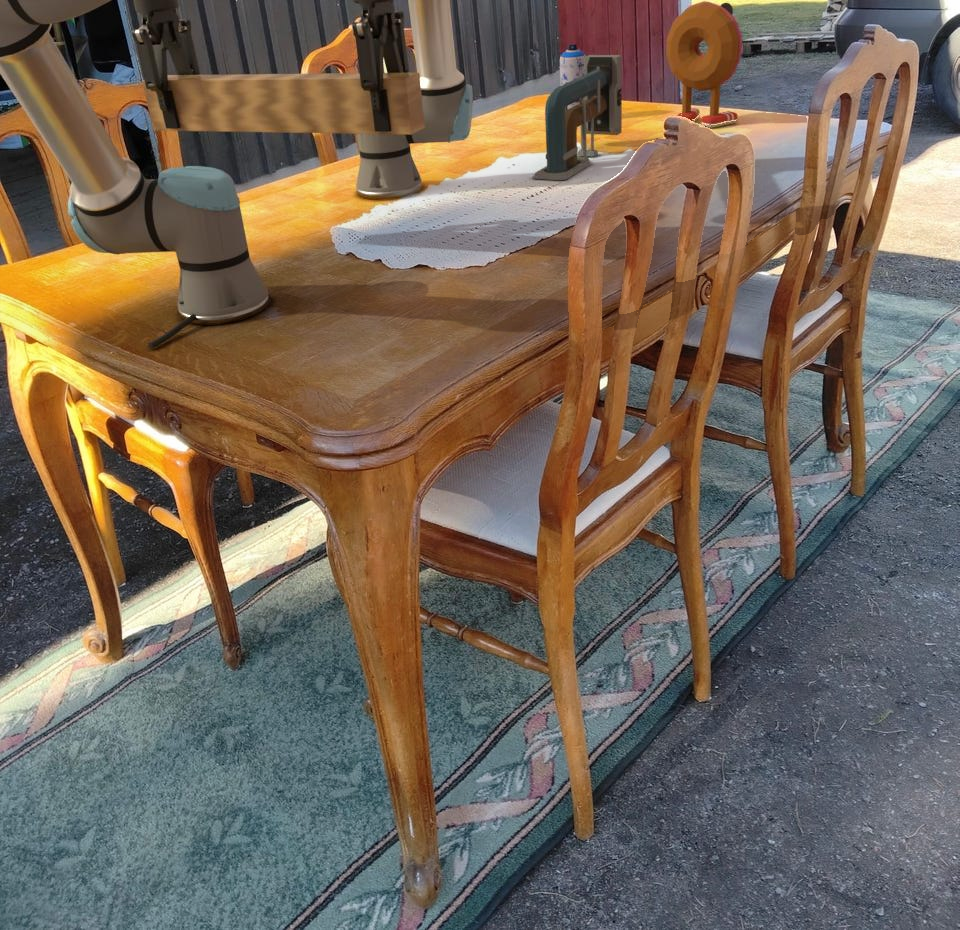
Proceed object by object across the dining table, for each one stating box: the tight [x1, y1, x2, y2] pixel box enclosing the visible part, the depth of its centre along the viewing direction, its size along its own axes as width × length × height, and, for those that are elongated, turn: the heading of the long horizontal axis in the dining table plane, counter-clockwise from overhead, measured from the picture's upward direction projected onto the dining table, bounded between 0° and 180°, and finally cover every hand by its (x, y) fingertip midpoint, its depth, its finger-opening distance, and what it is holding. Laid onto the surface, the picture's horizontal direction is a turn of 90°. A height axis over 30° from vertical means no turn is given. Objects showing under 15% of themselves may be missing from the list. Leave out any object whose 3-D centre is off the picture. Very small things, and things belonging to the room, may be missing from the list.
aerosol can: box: [559, 43, 587, 109], centre depth 273 cm, size 8×8×20 cm
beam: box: [141, 72, 425, 135], centre depth 169 cm, size 54×5×9 cm, turn 67°
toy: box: [665, 0, 743, 129], centre depth 253 cm, size 21×10×30 cm, turn 47°
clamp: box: [532, 54, 623, 181], centre depth 230 cm, size 35×9×21 cm, turn 151°
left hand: (183, 124), depth 179 cm, fingers closed on beam, 5 cm apart
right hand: (391, 126), depth 163 cm, fingers closed on beam, 5 cm apart
